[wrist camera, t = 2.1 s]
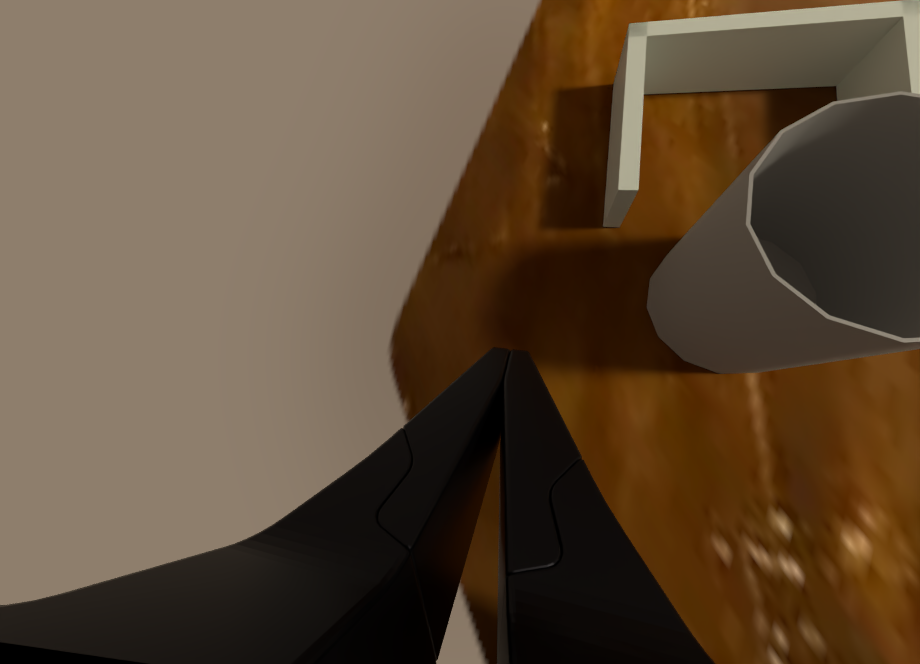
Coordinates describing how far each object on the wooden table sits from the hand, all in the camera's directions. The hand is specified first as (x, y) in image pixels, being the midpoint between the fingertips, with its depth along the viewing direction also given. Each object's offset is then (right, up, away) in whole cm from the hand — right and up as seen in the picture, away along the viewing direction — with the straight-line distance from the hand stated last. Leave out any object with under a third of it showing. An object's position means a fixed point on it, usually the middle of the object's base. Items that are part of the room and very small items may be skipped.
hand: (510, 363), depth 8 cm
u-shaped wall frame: (+16, +12, +13) cm, 24 cm away
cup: (+14, +2, +12) cm, 19 cm away
